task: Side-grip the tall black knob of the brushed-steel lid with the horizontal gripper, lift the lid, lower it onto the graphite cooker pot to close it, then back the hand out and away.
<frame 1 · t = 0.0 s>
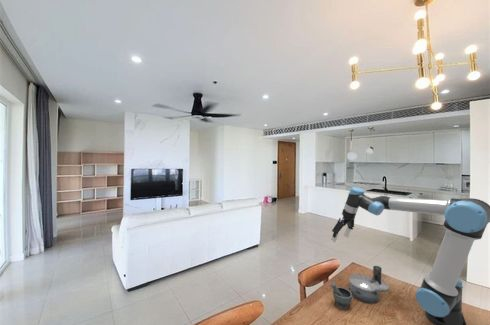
hand: (339, 238, 138), 28 cm above the table, tool tilted 20°, fingers open, 13 cm apart
steel lid: (377, 285, 133), on the table
mortar and pestle: (340, 304, 116), on the table
cooker pot: (363, 294, 124), on the table
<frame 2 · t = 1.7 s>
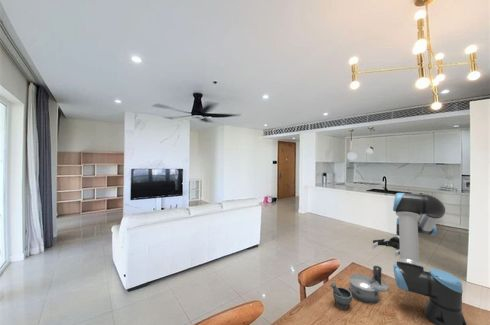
hand: (383, 250, 137), 20 cm above the table, tool horizontal, fingers open, 13 cm apart
nothing on the table moved.
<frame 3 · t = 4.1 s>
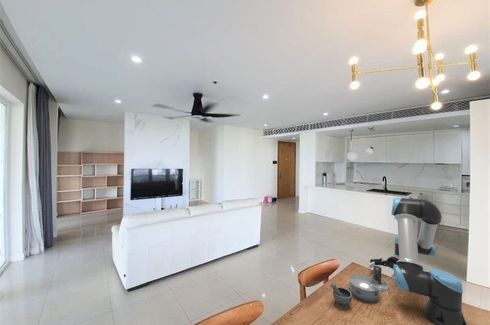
hand: (380, 271, 136), 7 cm above the table, tool horizontal, fingers open, 13 cm apart
nothing on the table moved.
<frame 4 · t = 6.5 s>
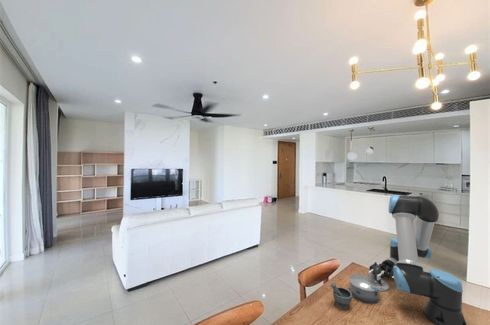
hand: (373, 276, 130), 8 cm above the table, tool horizontal, fingers closed on steel lid, 4 cm apart
steel lid: (377, 285, 133), on the table, touching gripper
everything else where it was.
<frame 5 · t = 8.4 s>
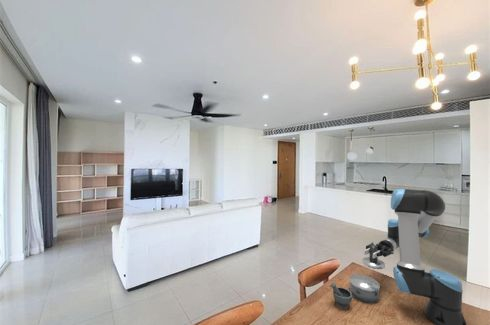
hand: (369, 254, 128), 22 cm above the table, tool horizontal, fingers closed on steel lid, 4 cm apart
steel lid: (373, 264, 131), point 14 cm above the table, touching gripper
everything else where it was.
when the fingers open (17 cm above the table, at t = 10.5 s): steel lid drops 1 cm, resting on cooker pot.
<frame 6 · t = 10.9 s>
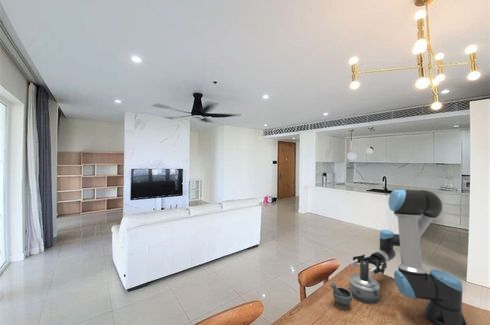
hand: (360, 268, 121), 17 cm above the table, tool horizontal, fingers open, 10 cm apart
steel lid: (364, 281, 124), point 8 cm above the table, touching cooker pot
everything else where it was.
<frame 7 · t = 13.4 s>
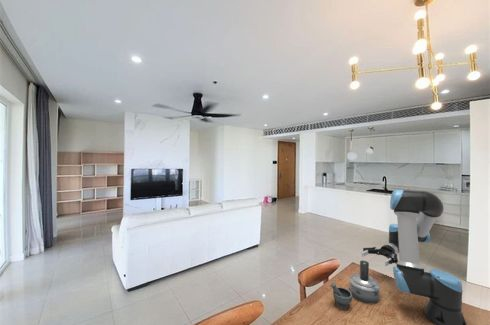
hand: (373, 258, 129), 18 cm above the table, tool horizontal, fingers open, 13 cm apart
nothing on the table moved.
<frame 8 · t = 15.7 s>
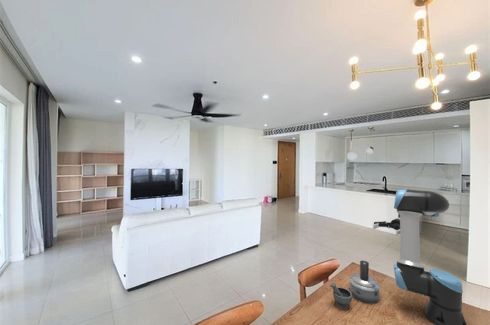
hand: (384, 230, 136), 34 cm above the table, tool horizontal, fingers open, 13 cm apart
nothing on the table moved.
at the end: steel lid 0.1 cm off-centre on the cooker pot, point 8.0 cm above the cooker pot's base; steel lid tilted 0°; the gripper is holding nothing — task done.
